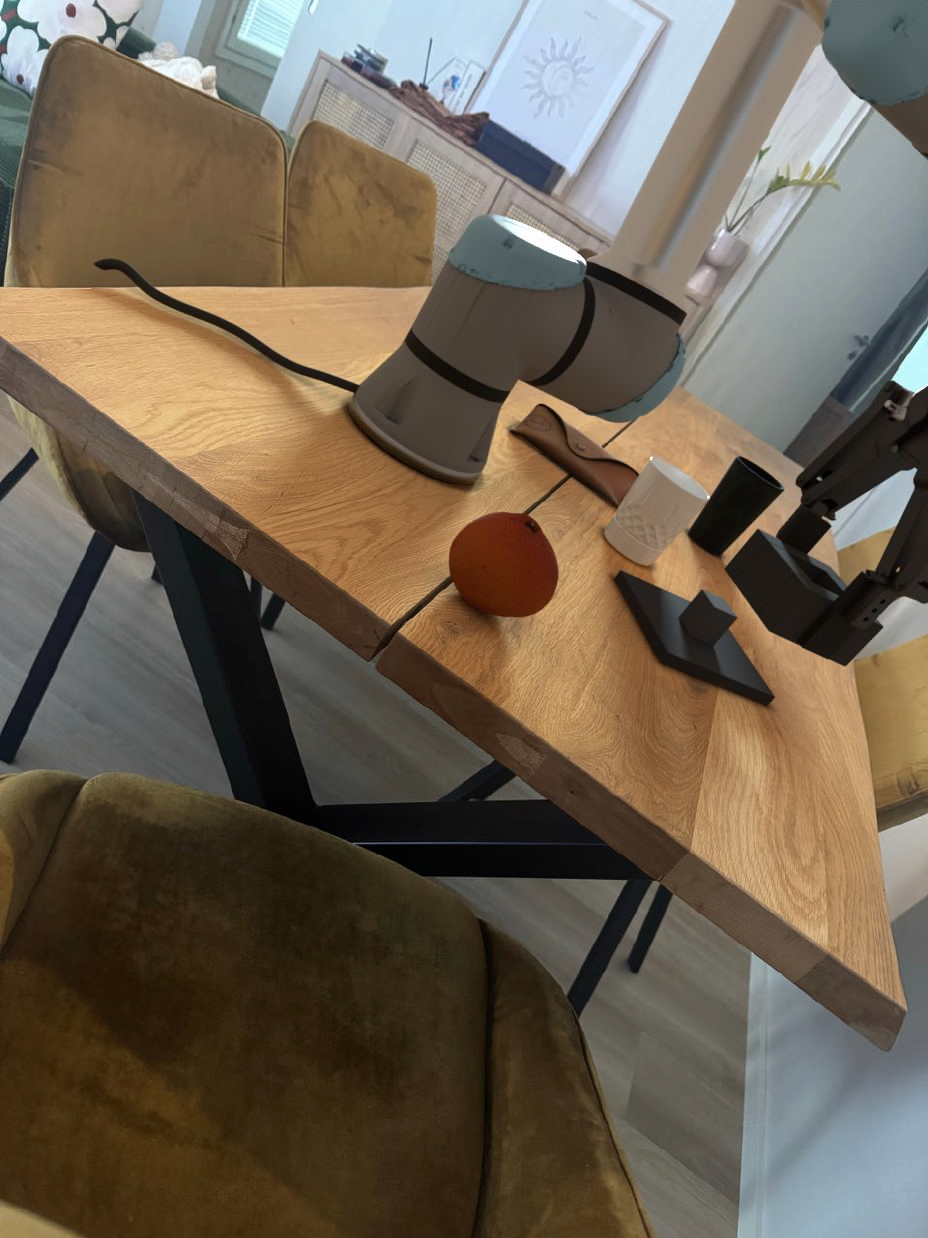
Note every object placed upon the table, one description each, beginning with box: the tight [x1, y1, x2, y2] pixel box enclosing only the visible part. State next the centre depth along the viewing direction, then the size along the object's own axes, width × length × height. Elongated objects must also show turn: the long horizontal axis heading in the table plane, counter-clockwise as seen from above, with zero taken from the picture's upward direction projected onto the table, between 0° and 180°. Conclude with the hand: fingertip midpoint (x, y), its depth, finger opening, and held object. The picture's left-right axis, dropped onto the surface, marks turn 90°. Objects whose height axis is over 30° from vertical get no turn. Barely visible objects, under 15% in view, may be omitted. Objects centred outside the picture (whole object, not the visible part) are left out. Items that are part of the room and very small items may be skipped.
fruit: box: [448, 511, 560, 618], centre depth 71 cm, size 9×9×8 cm
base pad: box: [613, 569, 776, 706], centre depth 91 cm, size 14×14×5 cm
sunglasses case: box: [509, 403, 640, 507], centre depth 119 cm, size 18×7×7 cm
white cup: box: [603, 456, 710, 567], centre depth 103 cm, size 8×8×10 cm
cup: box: [687, 455, 785, 557], centre depth 123 cm, size 8×8×12 cm
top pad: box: [723, 528, 884, 667], centre depth 67 cm, size 8×8×4 cm
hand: (785, 614), depth 68 cm, fingers closed on top pad, 8 cm apart
